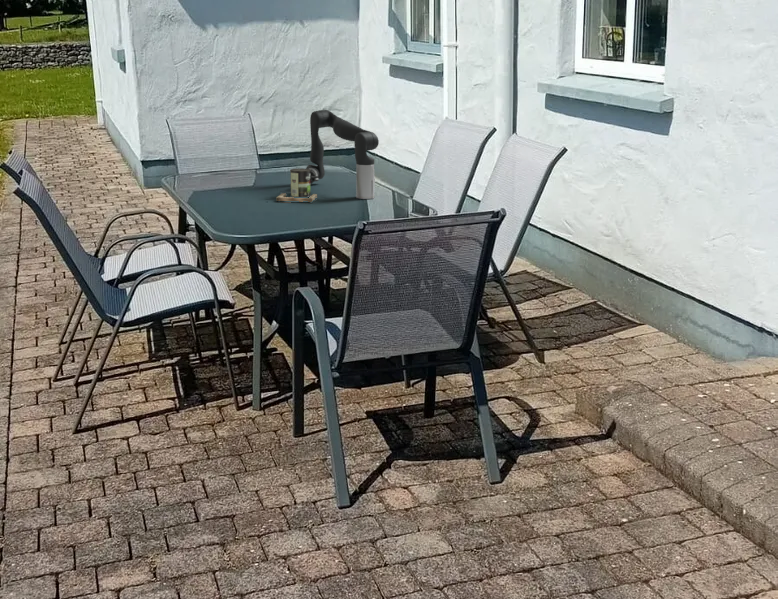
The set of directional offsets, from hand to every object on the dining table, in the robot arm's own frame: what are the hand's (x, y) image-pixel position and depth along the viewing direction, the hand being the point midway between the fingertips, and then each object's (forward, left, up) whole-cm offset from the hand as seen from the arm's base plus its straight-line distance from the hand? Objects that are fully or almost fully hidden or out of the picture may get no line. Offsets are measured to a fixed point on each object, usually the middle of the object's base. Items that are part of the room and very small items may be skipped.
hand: (303, 180), depth 510 cm
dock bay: (0, +18, -7) cm, 19 cm away
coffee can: (0, +9, -7) cm, 11 cm away
